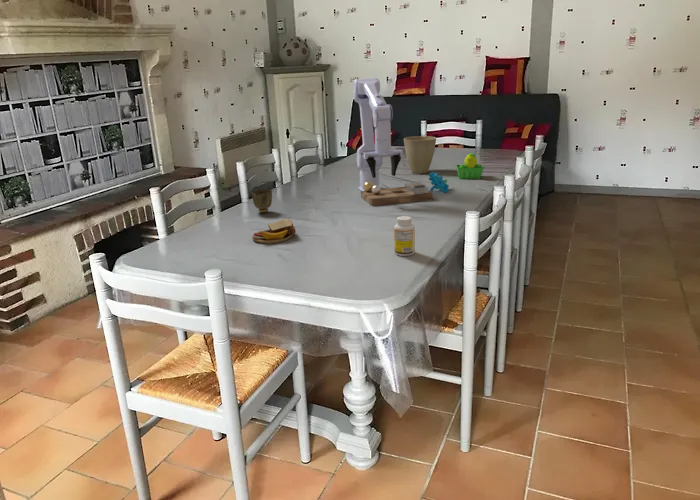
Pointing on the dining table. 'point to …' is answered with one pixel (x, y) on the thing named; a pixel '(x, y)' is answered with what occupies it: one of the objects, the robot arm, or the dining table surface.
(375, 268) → the dining table surface
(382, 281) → the dining table surface
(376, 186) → the steel ball
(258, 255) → the dining table surface
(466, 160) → the fruit basket
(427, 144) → the plant pot
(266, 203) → the cup
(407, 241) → the supplement bottle
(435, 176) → the blue irregular figure
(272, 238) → the toy sandwich meal
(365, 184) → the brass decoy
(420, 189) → the cover
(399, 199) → the wooden cutting board
